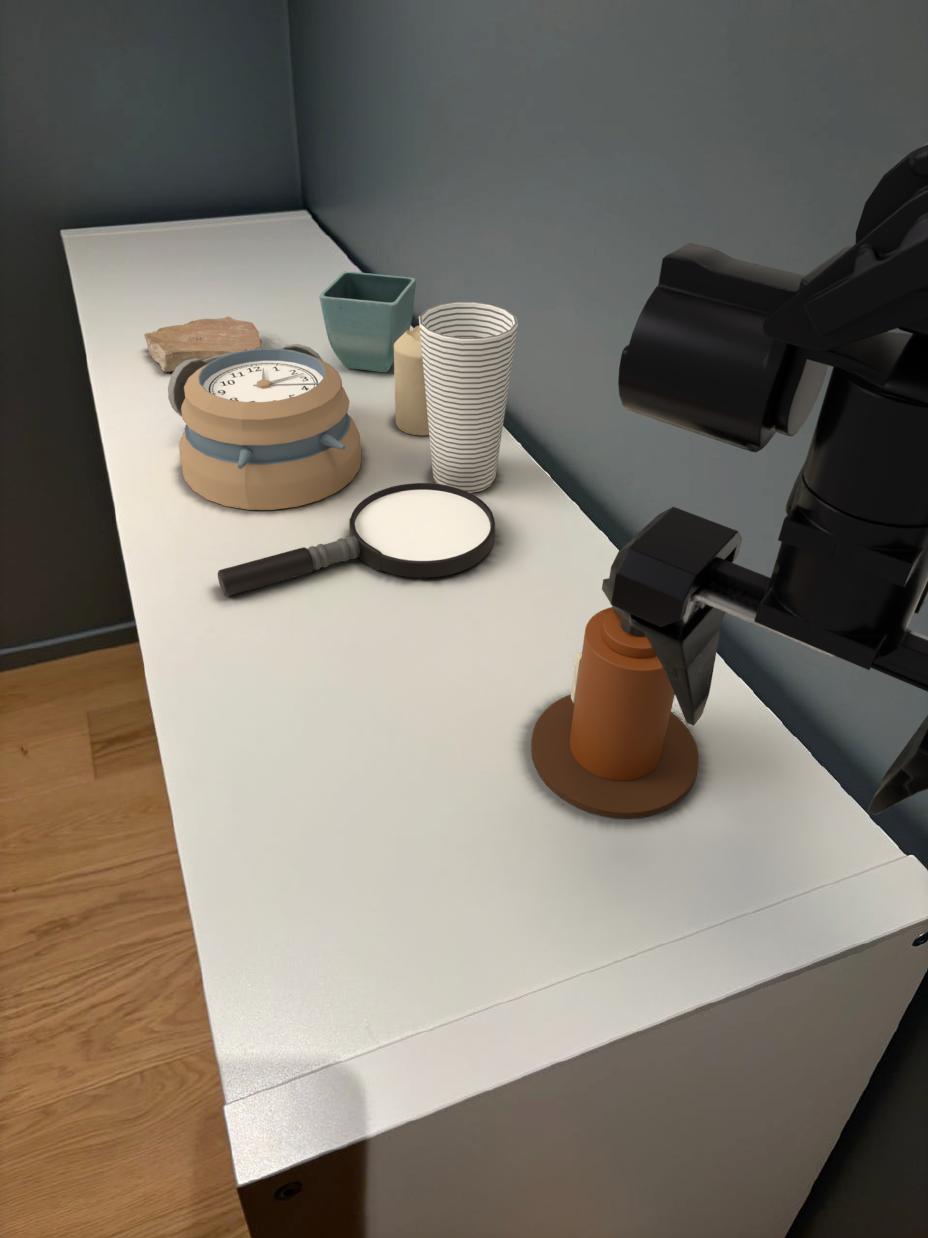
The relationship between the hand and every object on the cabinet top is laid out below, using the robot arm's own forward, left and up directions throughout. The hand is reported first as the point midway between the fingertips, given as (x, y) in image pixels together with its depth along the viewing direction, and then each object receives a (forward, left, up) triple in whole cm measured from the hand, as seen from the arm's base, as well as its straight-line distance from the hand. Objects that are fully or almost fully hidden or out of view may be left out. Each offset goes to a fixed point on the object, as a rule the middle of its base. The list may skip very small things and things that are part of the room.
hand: (779, 761), depth 45 cm
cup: (+40, -28, -12) cm, 50 cm away
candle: (+50, -34, -12) cm, 62 cm away
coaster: (+11, -6, -12) cm, 17 cm away
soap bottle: (+11, -6, -11) cm, 17 cm away
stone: (+79, -31, -12) cm, 86 cm away
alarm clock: (+58, -20, -12) cm, 63 cm away
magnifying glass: (+39, -12, -12) cm, 43 cm away
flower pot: (+64, -42, -12) cm, 78 cm away
